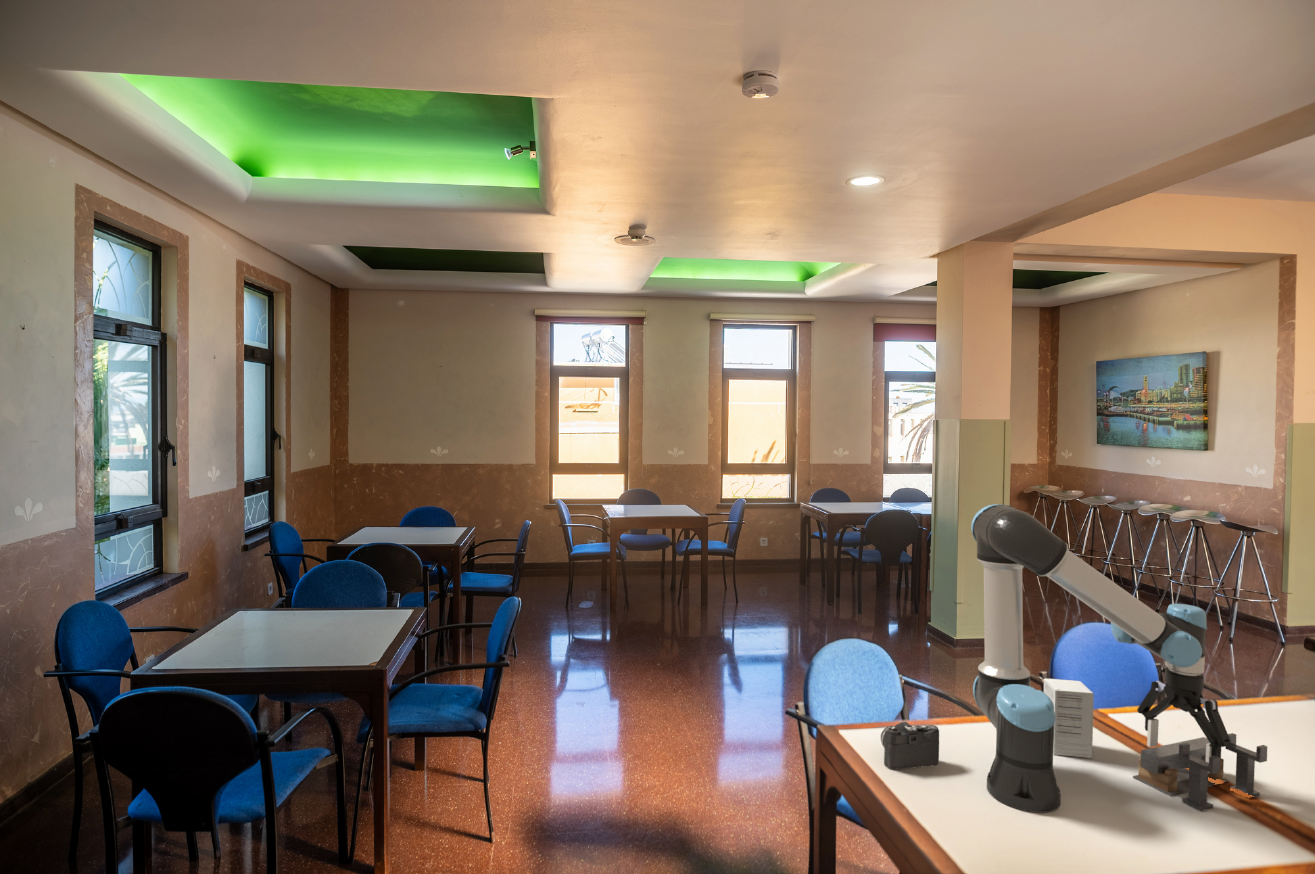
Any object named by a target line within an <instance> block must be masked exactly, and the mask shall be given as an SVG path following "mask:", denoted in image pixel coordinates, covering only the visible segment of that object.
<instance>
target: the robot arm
mask: <svg viewBox="0 0 1315 874" xmlns="http://www.w3.org/2000/svg"><path fill="white" fill-rule="evenodd" d="M970 529H971V534H972V536H973V539H974V541H975V542H976V560H977V561H978V562H979V563H981V565H982V566H983V619H984V620H983V621H984V622H983V623H984V624H983V627H984V631H983V632H984V633H983V634H984V635H983V636H984V660H983V662H981V663H980V664H979V665H978V667H977V676H976V677H975V680H974V681H973V684H972V685H973V686H972V692H973V697H974V700H975V703H976V705H977V707H978V709H979V710H980V711H981V713H982V714H983V715H985V717H986V718H987V719H988V721H989V722H991V724H992V726H993V727H994V728H995V729H996V730H995V732H996V733H995V738H996V740H995V741H996V744H995V757H994V759H993V762H992V763H991V766H990V770H989V772H988V773H987V775H986V790H987V792H988V793H989V794H990V795H991V797H992V798H994V799H996V800H997V801H999V803H1000V802H1001V803H1002V804H1005V805H1007V806H1009V807H1011V808H1015V809H1018V810H1022V811H1026V812H1033V813H1049V812H1054V811H1056V810H1058V809H1059V808H1060V807H1061V803H1062V793H1061V792H1062V791H1061V789H1060V787H1059V786H1058V782H1057V778H1056V774H1055V770H1054V754H1053V748H1054V723H1055V712H1054V704H1053V702H1052V700H1051V699H1050V698H1049V697H1048V696H1047V695H1046V694H1045V693H1044V691H1043V690H1039V689H1036V688H1035V687H1033V686H1031V672H1030V670H1028V668H1027V667H1026V666H1025V665H1024V629H1023V627H1024V619H1023V617H1024V616H1023V612H1024V611H1023V608H1024V607H1023V605H1024V604H1023V599H1024V598H1023V569H1024V568H1026V569H1027V570H1029V571H1031V572H1032V573H1034V574H1035V575H1037V576H1038V577H1047V578H1048V579H1050V580H1051V581H1053V582H1054V583H1055V584H1057V585H1059V586H1060V587H1061V588H1063V589H1064V590H1065V591H1067V593H1070V594H1071V595H1073V596H1074V597H1075V598H1077V599H1078V600H1079V601H1081V602H1082V603H1084V604H1085V605H1087V606H1088V607H1089V608H1090V609H1092V610H1094V611H1095V612H1097V613H1098V614H1099V615H1100V616H1102V617H1104V618H1105V619H1106V620H1108V621H1109V622H1110V629H1111V634H1112V636H1113V637H1114V639H1115V640H1116V641H1117V642H1119V643H1121V644H1128V645H1131V644H1133V645H1134V644H1135V645H1138V646H1140V647H1142V648H1143V649H1145V650H1147V651H1149V652H1151V653H1152V654H1154V655H1156V656H1158V657H1159V658H1160V659H1162V660H1164V661H1165V662H1164V665H1165V667H1166V668H1165V669H1164V682H1163V681H1162V680H1155V681H1152V682H1151V685H1150V689H1149V691H1148V692H1147V694H1146V695H1145V697H1144V698H1143V700H1142V702H1141V703H1140V705H1139V706H1138V707H1137V709H1136V711H1137V713H1139V714H1141V715H1143V716H1144V718H1145V719H1144V730H1145V731H1146V732H1147V739H1146V740H1147V741H1146V746H1147V747H1149V748H1154V747H1159V746H1158V743H1159V724H1160V723H1159V722H1160V721H1159V720H1160V719H1157V716H1159V715H1160V714H1161V713H1163V712H1164V711H1165V710H1167V709H1168V708H1170V707H1172V706H1173V707H1172V708H1175V709H1180V710H1182V711H1183V712H1185V713H1189V715H1190V717H1193V718H1194V720H1195V721H1196V724H1197V725H1198V726H1199V728H1200V730H1201V731H1202V733H1203V734H1204V737H1205V738H1207V739H1208V741H1209V742H1210V743H1209V744H1206V762H1208V763H1209V757H1211V756H1216V755H1217V756H1219V757H1220V758H1222V748H1225V747H1226V746H1230V745H1231V744H1232V743H1231V741H1230V738H1229V736H1228V734H1229V733H1228V731H1227V729H1226V727H1225V724H1224V722H1223V721H1224V720H1223V719H1222V717H1221V715H1220V712H1219V707H1218V705H1219V703H1218V701H1217V700H1216V699H1207V698H1204V696H1203V691H1204V688H1205V687H1204V685H1205V682H1204V681H1205V676H1204V672H1205V661H1206V659H1205V658H1206V655H1205V654H1206V644H1207V643H1206V642H1207V641H1206V640H1207V630H1208V626H1207V625H1208V624H1207V613H1206V611H1205V610H1204V609H1203V608H1201V607H1199V606H1196V605H1192V604H1191V605H1190V604H1184V603H1171V604H1169V605H1168V607H1167V609H1166V612H1156V611H1155V610H1154V609H1152V608H1151V607H1150V606H1148V605H1147V604H1145V603H1144V602H1143V601H1141V600H1139V599H1138V598H1137V597H1135V596H1134V595H1132V594H1131V593H1129V592H1128V591H1127V590H1125V589H1124V588H1123V587H1121V585H1118V584H1117V583H1116V582H1114V581H1113V580H1112V579H1110V578H1109V577H1107V576H1105V574H1103V573H1102V572H1100V571H1098V570H1097V569H1096V568H1094V567H1093V566H1092V565H1090V564H1089V563H1087V562H1086V561H1084V560H1083V559H1082V558H1080V557H1079V556H1077V555H1076V554H1074V553H1073V552H1072V551H1070V550H1069V545H1068V543H1067V542H1066V541H1064V540H1063V539H1061V538H1060V537H1059V536H1057V535H1056V534H1055V533H1054V532H1053V531H1051V530H1050V529H1049V528H1047V526H1045V525H1044V524H1043V523H1041V522H1040V521H1039V520H1038V519H1037V518H1035V517H1034V516H1033V515H1032V514H1029V513H1028V512H1026V511H1023V510H1019V509H1017V508H1015V507H1013V506H1010V505H1007V504H1001V503H1000V504H997V503H995V504H989V505H986V506H984V507H982V508H981V509H979V510H978V511H977V512H976V513H975V515H974V517H973V518H972V519H971V525H970ZM1162 692H1163V693H1164V694H1165V695H1166V697H1165V698H1163V699H1162V700H1161V701H1160V702H1159V703H1157V704H1156V705H1155V706H1153V705H1154V704H1155V703H1156V701H1157V700H1158V698H1159V696H1160V695H1161V693H1162ZM1202 705H1203V706H1202ZM1204 709H1205V710H1204ZM1208 773H1209V772H1208Z"/></svg>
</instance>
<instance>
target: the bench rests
mask: <svg viewBox="0 0 1315 874" xmlns="http://www.w3.org/2000/svg"><path fill="white" fill-rule="evenodd" d="M1224 760H1225V759H1223V758H1222V757H1221V758H1220V772H1219V773H1215V774H1211V773H1208V777H1209V778H1212V779H1214V780H1216V779H1221V780H1223V781H1225V782H1228V783H1230V780H1228V779H1227V778H1224V766H1225V764H1224ZM1132 779H1135V780H1137V781H1139V782H1141V783H1142V784H1144V785H1147V786H1148V787H1151V788H1153V789H1154V790H1157V791H1159V792H1160V793H1163V794H1165V795H1167V796H1169V797H1175V796H1178V795H1182V794H1188V793H1189V771H1188V770H1187V769H1181V770H1177V769H1175V768H1172V769H1168V770H1165V773H1163V774H1159V775H1157V774H1155V773H1153V772H1151V771H1148V770H1146V769H1144V768H1142V767H1141V757H1139V759H1138V774H1136V775H1132ZM1214 784H1215V783H1211V782H1209V781H1208V785H1207V789H1208V788H1212V787H1214V786H1213V785H1214Z"/></svg>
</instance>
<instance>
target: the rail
mask: <svg viewBox="0 0 1315 874" xmlns="http://www.w3.org/2000/svg"><path fill="white" fill-rule="evenodd" d="M1183 743H1188V744H1190V755H1191V756H1194V757H1196V758H1198V759H1201V760H1203V761H1205V762H1206V744H1209V743H1210V742H1209V741H1208V739H1207V737H1206V736H1202V737H1197V738H1194V739H1193V738H1192V739H1188V740H1184V741H1178V742H1174V743H1170V744H1169V743H1168V744H1163V745H1159V746H1153V747H1149V748H1144V749H1140V758H1141V767H1142V768H1144V769H1146V770H1148V771H1151V772H1153V773H1155V774H1157V775H1159V774H1163V773H1165V770H1168V769H1172V768H1175V769H1177V770H1181V769H1185V768H1189V766H1190V764H1189V763H1186V762H1184V761H1182V760H1180V759H1179V744H1183Z"/></svg>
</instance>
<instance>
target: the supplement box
mask: <svg viewBox="0 0 1315 874" xmlns="http://www.w3.org/2000/svg"><path fill="white" fill-rule="evenodd" d="M1043 693H1045V694H1046V695H1047V696H1048V697H1049V698H1050V699H1051V700H1052V702H1053V704H1054V712H1055V723H1054V748H1053V755H1054V756H1055V755H1056V756H1066V757H1067V756H1068V757H1073V758H1074V757H1075V758H1076V757H1077V758H1085V759H1086V758H1087V759H1092V758H1093V741H1094V740H1093V739H1094V737H1093V733H1094V732H1093V729H1094V701H1095V700H1094V697H1095V696H1094V695H1095V693H1094V692H1093V691H1091V690H1090V689H1089V688H1088V687H1087V686H1086V685H1085V684H1084V683H1083V682H1082V681H1080V680H1072V679H1071V680H1069V679H1058V678H1044V679H1043Z"/></svg>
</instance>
